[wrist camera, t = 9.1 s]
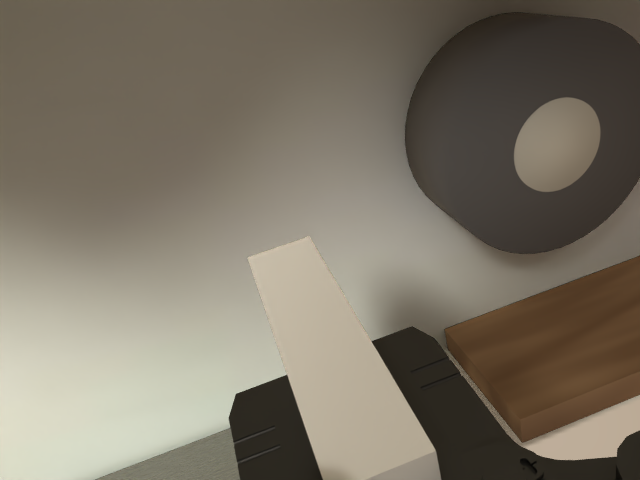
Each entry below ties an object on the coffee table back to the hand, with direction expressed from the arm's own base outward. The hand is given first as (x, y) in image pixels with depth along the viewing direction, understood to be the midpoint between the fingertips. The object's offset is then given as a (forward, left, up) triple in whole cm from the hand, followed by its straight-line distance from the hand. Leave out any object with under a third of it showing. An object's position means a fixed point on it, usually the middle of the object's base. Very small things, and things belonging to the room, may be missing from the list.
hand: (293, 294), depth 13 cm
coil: (+1, +10, -8) cm, 13 cm away
